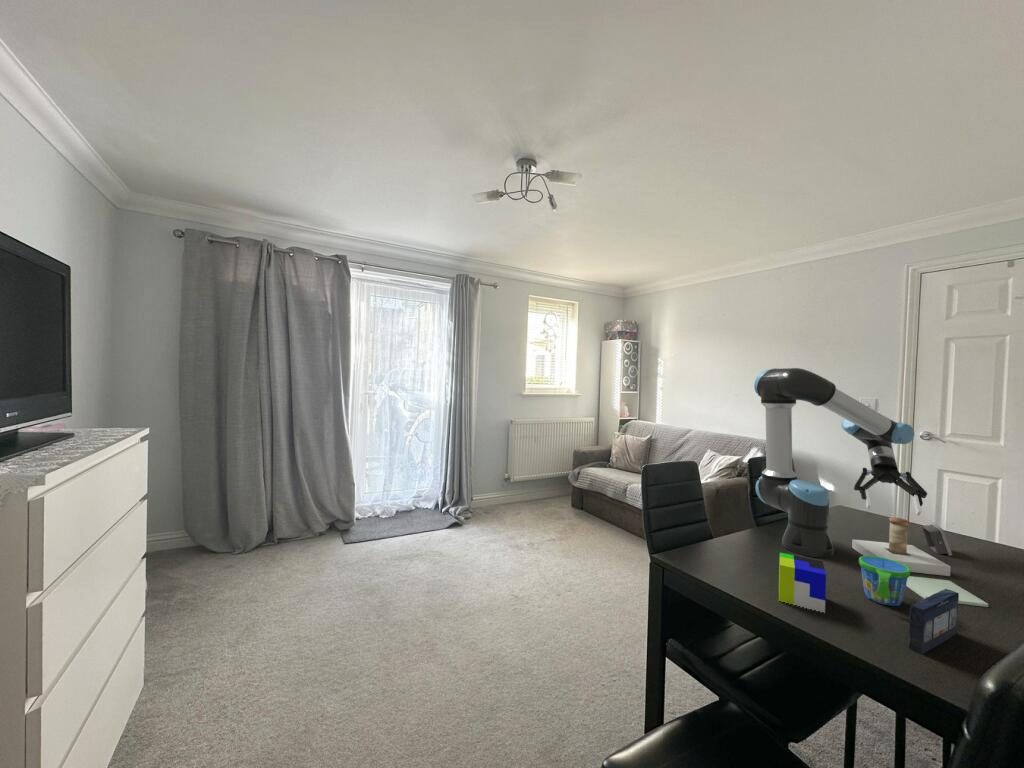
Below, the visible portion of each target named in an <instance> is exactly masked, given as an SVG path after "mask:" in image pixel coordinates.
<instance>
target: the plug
mask: <svg viewBox="0 0 1024 768" xmlns="http://www.w3.org/2000/svg"><path fill="white" fill-rule="evenodd" d="M888 522H889V538H888V539H889V540H888V543H889V552H891V553H893V554H898V555H907V545H908V526H909V519H908V520H907V519H905V518H901V517H894V516H892V517H891V516H890V517H888Z"/></svg>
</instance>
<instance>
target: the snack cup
mask: <svg viewBox="0 0 1024 768" xmlns="http://www.w3.org/2000/svg"><path fill="white" fill-rule="evenodd" d="M858 564H859V566H860V569H861V571H860V572H861V577H862V578H861V579H862V584H863V591H864V594H865V596H866V597H867V599H869V600H872V601H873V602H875V603H878V604H880V605H886V606H889V607H890V606H891V607H895V606H896V607H899V606H901V604H902V602H903V599H904V594H905V590H906V588H907V586H906V583H907V578H908V577H909V576H911V572H910V569H909V568H908V567H907V566H905V565H904V564H902V563H899V562H897V561H894V560H890V559H887V558H882V557H877V556H863V555H861V556H860V557H859V558H858Z"/></svg>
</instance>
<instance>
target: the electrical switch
mask: <svg viewBox="0 0 1024 768" xmlns="http://www.w3.org/2000/svg"><path fill="white" fill-rule="evenodd" d="M921 528H922V531H923V534H924V537H925V540H926V542H927V545H928V547H929V548H930V549H931V550H933V552H934V553H936V554H937V555H938V554H939V555H941V554H946V555H947V556H948V557H950V556H953V552H952V549H951V547H950V544H949V542H948V538H947V535H946V533H945V530H944V529H943V527H941V526H939V525H938V524H936V523H934V522H930V524H928V525H922V526H921Z"/></svg>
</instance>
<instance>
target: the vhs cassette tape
mask: <svg viewBox="0 0 1024 768" xmlns="http://www.w3.org/2000/svg"><path fill="white" fill-rule="evenodd" d="M958 600H959V593H957V592H954V591H952V590H948V589H944V590H942V591H940V592H938V593H935V594H933V595H931V596H930V597H927V598H925V599H924V598H922V599H921V600H919V601H917V602H915V603H913V604H911V605H910V606H909V624H908V625H909V629H908V646H907V647H908V649H909V650H911V651H913V652H916V653H919V654H921V655H924V654H926V653H927V652H928V651H930V650H932V649H934V648H936V647H938V646H939V645H941V644H943V643H945V642H947V641H948V640H949V639H951V638H952V636H953V637H955V636H956V635H957V634H958V619H959V618H958V616H959V614H958V613H959V603H958Z"/></svg>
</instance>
